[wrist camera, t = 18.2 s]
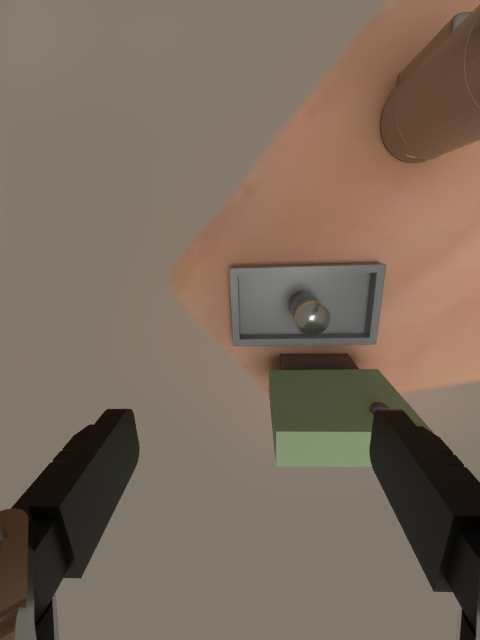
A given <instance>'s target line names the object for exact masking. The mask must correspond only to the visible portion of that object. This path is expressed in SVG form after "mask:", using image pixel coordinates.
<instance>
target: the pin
mask: <svg viewBox="0 0 480 640" xmlns="http://www.w3.org/2000/svg"><path fill="white" fill-rule="evenodd" d="M289 310H290V312H291V314H292V316H293V319H294V322H295V325H296V327H297V328H298V330H299V331H300V332H302V333H303V334H305V335H310V336H315V335H319V334H321V333H322V332H324V331H325V330H326V329H327V327H328V326H329V323H330V312H329V310H328V309H327V307H326V306H325V305H324V304H323V303H321V302H320V301H319V300H318V299H317V298H316V297H315V296H314V295H313V294H312V293H310V292H307V291H300V292H297V293H296V294H294V295H293V296H292V297H291V299H290V301H289Z"/></svg>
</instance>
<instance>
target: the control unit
mask: <svg viewBox="0 0 480 640" xmlns="http://www.w3.org/2000/svg"><path fill="white" fill-rule="evenodd" d="M269 398H270V408H271V419H272V428H273V439H274V450H275V459H276V460H275V461H276V466H327V467H329V466H330V467H331V466H333V467H336V466H337V467H372V464H371V461H370V454H369V448H370V440H371V432H372V424H373V417H374V412H375V411H376V410H377V409H401V410H403V411H405V413H406V414H407V415H408V416H409V417H410V419H411V420H412V421H413V422H414V423H415V425H416V426H423V427H425V428H426V429H428V430H429V431H431V432H432V430H431V429H430V428H429V427H428V426H427V425H426V424H425V423H424V422H423V420H422V419H421V418H420V417H419V416H418V415H417V413H416V412H415V411H414V410H413V409H412V408H411V407H410V405H409V404H408V403H407V402H406V401H405V400H404V399H403V398H402V396H401V395H400V394H399V393H398V392H397V391H396V390H395V388H394V387H393V386H392V385H391V384H390V383H389V382H388V380H387V379H386V378H385V377H384V376H383V375H382V374H381V373H380V371H379V370H378V369H358V367H357V366H356V365H355V363H354V362H353V361H352V359H351V358H350V357H349V355H348V354H280V370H269ZM432 433H433V432H432Z"/></svg>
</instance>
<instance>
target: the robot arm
mask: <svg viewBox="0 0 480 640" xmlns="http://www.w3.org/2000/svg"><path fill="white" fill-rule="evenodd" d="M381 135H382V138H383V142H384V144H385V146H386V148H387V149H388V151H389V152H390V153H391V154H392V155H393V156H395V157H396V158H398V159H399V160H402V161H405V162H412V163H417V162H423V161H426V160H429V159H432V158H435V157H438V156H440V155H442V154H444V153H447V152H450V151H452V150H455V149H457V148H460V147H463V146H465V145H468V144H470V143H473V142H475V141H478V140H480V5H479V6H478V7H477V8H476V9H475V10H474V11H473V12H464V13H459V14H457V15H455V16H454V17H453V18H452V19H451V20H450V21H449V22H448V23H447V24H446V25H445V27H444V28H443V29H442V30H441V31H440V32H439V33H438V34H437V35H436V36H435V37H434V38H433V39H432V40H431V41H430V42H429V43H428V44H427V46H426V47H425V48H424V49H423V50H422V51H421V52H420V53H419V54H418V55H417V56H416V57H415V58H414V59H413V60H412V61H411V62H410V63H409V65H408V66H407V67H406V68H405V69H404V70H403V71H402V72H401V73H400V74H399V80H398V84H397V86H396V88H395V89H394V90H393V92H392V93H391V95H390V96H389V98H388V100H387V102H386V104H385V106H384V109H383V113H382V117H381ZM369 454H370V461H371V464H372V467H373V470H374V472H375V474H376V476H377V478H378V480H379V482H380V484H381V486H382V488H383V490H384V492H385V494H386V496H387V498H388V500H389V502H390V504H391V506H392V508H393V510H394V512H395V514H396V516H397V518H398V520H399V522H400V524H401V526H402V528H403V530H404V532H405V535H406V537H407V539H408V541H409V543H410V544H411V546H412V549H413V551H414V553H415V555H416V557H417V558H418V561H419V563H420V565H421V567H422V569H423V571H424V573H425V575H426V577H427V579H428V581H429V583H430V585H431V587H432V589H433V591H436V592H453V593H454V595H455V597H456V598H457V600H458V602H459V604H460V609H459V613H458V622H457V634H456V640H480V482H479V481H478V480H477V479H476V478H475V477H474V475H473V474H472V473H471V472H470V471H469V470H468V469H467V468H465V467H464V464H463V463H462V462H461V461H460V460H459V459H458V458H457V456H456V455H453V452H452V451H451V450H450V449H449V447H448V446H447V445H446V444H445V443H444V442H443V441H442V440H441V438H439V437H438V436H436V435H435V434H434V433H432V432H431V431H429V430H428V429H426V428H425V427H423V426H416V425H415V423H414V422H413V421H412V420H411V419H410V417H409V416H408V415H407V414H406V413H405V411H403V410H401V409H377V410H376V411H375V412H374V417H373V424H372V432H371V440H370V448H369ZM138 458H139V442H138V437H137V430H136V424H135V419H134V413H133V411H132V410H131V409H107V410H106V411H105V412H104V413H103V414H102V415H101V417H100V418H99V419H98V420H97V422H96V423H95V424H94V425H88V426H87V427H85V428H84V429H83V430H81V431H80V432H78V433H77V434H75V435H74V436H73V437H72V439H71V440H70V441H69V442H68V443H67V444H66V445H65V447H64V448H63V451H60V452H59V453H58V455H57V456H56V457H55V458H54V459H53V462H52V463H50V464H49V465H48V466H47V467H46V468H45V470H44V471H43V472H42V473H41V474H40V475H39V477H38V478H37V479H36V480H35V481H34V482H33V484H32V485H31V486H30V487H29V488H28V489H27V490H26V492H25V493H24V494H23V495H22V496H21V498H20V499H19V500H18V501H17V502H16V503H15V504H14V506H13V507H12V508H11V509H6V510H2V511H0V640H59V632H58V615H57V600H56V595H55V592H56V590H57V588H58V587H59V585H60V583H61V581H62V579H63V578H81V577H82V575H83V573H84V571H85V569H86V567H87V565H88V563H89V561H90V559H91V557H92V555H93V553H94V551H95V549H96V547H97V544H98V543H99V541H100V538H101V536H102V534H103V532H104V530H105V528H106V526H107V524H108V522H109V520H110V518H111V516H112V514H113V512H114V510H115V508H116V506H117V504H118V502H119V500H120V498H121V496H122V494H123V492H124V490H125V488H126V486H127V484H128V482H129V479H130V477H131V476H132V473H133V471H134V469H135V467H136V465H137V462H138Z"/></svg>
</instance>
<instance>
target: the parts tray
mask: <svg viewBox="0 0 480 640" xmlns="http://www.w3.org/2000/svg"><path fill="white" fill-rule="evenodd" d="M385 269H386V264H382V263H379V262H370V263H332V264H295V265H258V266H231V267H230V290H231V314H232V337H233V346H289V345H371V344H376V342H377V334H378V326H379V318H380V310H381V301H382V293H383V285H384V277H385ZM300 291H307V292H310V293H312V294H313V295H314V296H315V297H316V298H317V299H318V300H319V301H320V302H321V303H323V304H324V305H325V306H326V307H327V309H328V310H329V312H330V323H329V326H328V327H327V329H326V330H325V331H324V332H322V333H321V334H319V335H315V336H310V335H305V334H303V333H302V332H300V331H299V330H298V328H297V327H296V325H295V322H294V319H293V316H292V314H291V312H290V310H289V301H290V299H291V297H292V296H293V295H294V294H296V293H297V292H300Z"/></svg>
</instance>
